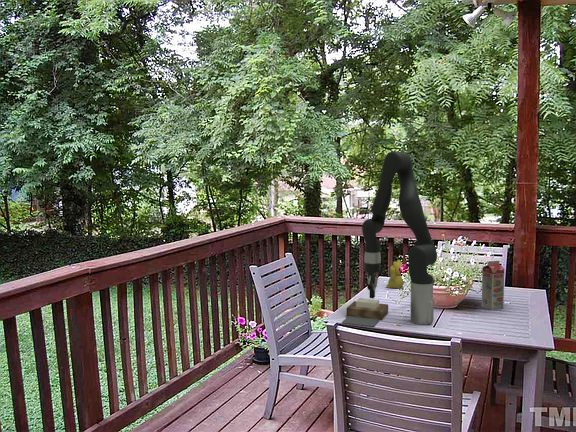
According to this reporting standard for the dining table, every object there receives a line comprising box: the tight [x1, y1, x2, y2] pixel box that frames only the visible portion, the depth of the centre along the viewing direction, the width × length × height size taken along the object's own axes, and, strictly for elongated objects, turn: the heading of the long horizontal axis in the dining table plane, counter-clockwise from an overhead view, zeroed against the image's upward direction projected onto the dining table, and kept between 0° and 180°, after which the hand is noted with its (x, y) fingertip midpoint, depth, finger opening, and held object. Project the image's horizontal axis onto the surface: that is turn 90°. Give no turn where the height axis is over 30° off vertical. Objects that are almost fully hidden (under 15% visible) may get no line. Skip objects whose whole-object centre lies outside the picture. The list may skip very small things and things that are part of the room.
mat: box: [341, 316, 380, 328], centre depth 213 cm, size 14×10×1 cm
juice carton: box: [481, 260, 505, 311], centre depth 230 cm, size 7×7×22 cm
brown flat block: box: [345, 300, 389, 321], centre depth 223 cm, size 16×12×4 cm
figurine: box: [386, 259, 405, 289], centre depth 271 cm, size 11×9×15 cm
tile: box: [355, 297, 380, 309], centre depth 222 cm, size 9×6×2 cm, turn 66°
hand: (372, 297), depth 230 cm, fingers closed
